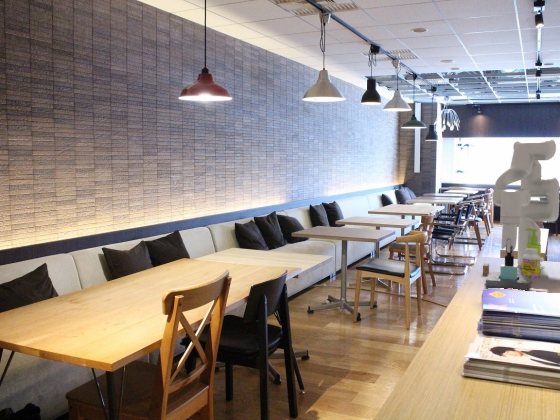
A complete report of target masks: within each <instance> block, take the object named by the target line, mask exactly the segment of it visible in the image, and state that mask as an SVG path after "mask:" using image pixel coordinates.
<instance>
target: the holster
mask: <svg viewBox="0 0 560 420" xmlns="http://www.w3.org/2000/svg"><path fill="white" fill-rule="evenodd" d="M500 272H501V271H500ZM500 272H499V271H498V272H497V271H490V263H483V265H482V272H481V274H480V276H481V277H488V275H489V273H497V274H500Z"/></svg>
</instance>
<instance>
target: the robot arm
mask: <svg viewBox="0 0 560 420" xmlns="http://www.w3.org/2000/svg"><path fill="white" fill-rule="evenodd" d="M512 148H513V152H512V157H511V161H510V162H511V163H510V167H509V168H508V169H507V170H505V171H504V172H503V173H502V174H500V176H499V177H497V179H496V180H495V184H494V186H493V187H494V189H493V192H492V202H493V204H494V205H496V206H498V207H500V213H499V214H500V218H499V220H500V221H499V225H502V229H501V230H502V231H501V247H500V248H501V250H504V249H505V256H504V265H505V266H513V265H517V269H518V268H521V269H522V262H523V255H524V254H526V251H525V249H526V244H529V238H530V237H531V236H532V231H524V230H526V229H536V230H538V231H537V232H536V236H537V237H538V244H539V245H541V240H542V239H541V236H542V230H541V228H540V226H539V225H538V224H537V223H536V222H549V223H550V222H551V223H552V222H556V221H557V220H558V218H559V215H560V213H559V212H560V183H559V180H558V179H557V178H556V177H553V176H542V165H541V162H540V161H549V160H551V159H552V158H553V157H554V156H555V155H556V151H557V146H556V142H555V140H554V139H552V138H542V139H541V138H538V139H537V138H536V139H535V138H534V139H533V138H532V139H520V140H517V141H514V143H513V147H512ZM518 181H520V188H513V187H511V188H510V187H508V188H507V186H508V185H510V184H514V183H516V182H518ZM531 198H543V199H547V200H539V199H538V200H537V199H536V200H535V199H531ZM517 234H518V235H517ZM516 245H517V262H515V263H514V259H515V258H514V257H515V256H514V250H515V248H516ZM543 262H545V258H544V257H541V259H540V270H543V269H544V265H543V264H541V263H543Z"/></svg>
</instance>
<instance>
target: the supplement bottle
mask: <svg viewBox="0 0 560 420" xmlns="http://www.w3.org/2000/svg"><path fill="white" fill-rule="evenodd" d="M525 251H526V254H524V255H523V262H522V268H521V275H523V276H531V279H538V278H540V273H539V267H540V264H541V262H540V257H539V255H537V252H538V249H535V248H526V249H525Z"/></svg>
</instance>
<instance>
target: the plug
mask: <svg viewBox="0 0 560 420" xmlns="http://www.w3.org/2000/svg"><path fill="white" fill-rule="evenodd" d="M517 275H518V267H517V265H513V266H505V264H500V279H510V280H517Z"/></svg>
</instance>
